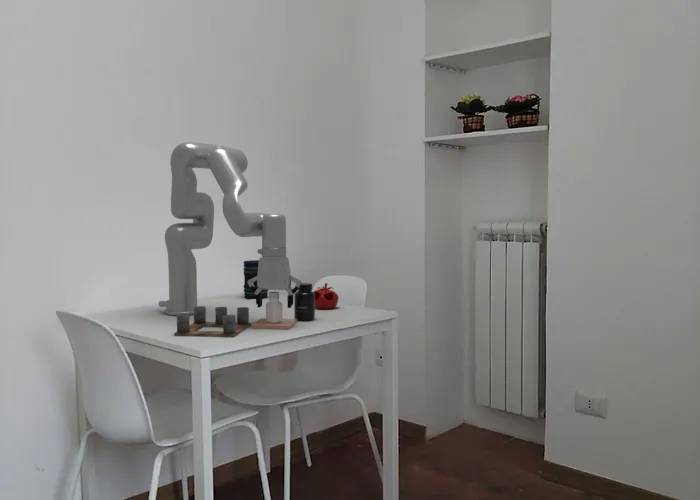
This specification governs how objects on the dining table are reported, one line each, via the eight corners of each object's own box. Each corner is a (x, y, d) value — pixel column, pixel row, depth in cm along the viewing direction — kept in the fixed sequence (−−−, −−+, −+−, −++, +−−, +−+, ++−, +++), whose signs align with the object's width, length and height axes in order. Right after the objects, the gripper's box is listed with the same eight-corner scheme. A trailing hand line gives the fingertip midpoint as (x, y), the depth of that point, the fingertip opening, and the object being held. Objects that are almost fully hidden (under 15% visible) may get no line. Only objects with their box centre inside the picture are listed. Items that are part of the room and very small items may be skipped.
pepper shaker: (274, 320, 206) (274, 291, 206) (283, 321, 204) (283, 292, 203) (265, 322, 203) (265, 292, 202) (274, 323, 201) (273, 293, 200)
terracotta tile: (251, 328, 198) (251, 325, 198) (261, 321, 210) (261, 318, 210) (289, 329, 197) (289, 326, 197) (297, 322, 209) (297, 319, 209)
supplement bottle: (299, 322, 209) (299, 285, 208) (291, 318, 215) (290, 283, 214) (318, 320, 212) (318, 284, 211) (310, 317, 218) (309, 282, 217)
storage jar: (240, 299, 259) (239, 262, 257) (248, 295, 268) (247, 260, 267) (264, 299, 257) (263, 262, 256) (271, 296, 267) (270, 260, 265)
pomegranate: (316, 306, 243) (316, 281, 243) (342, 306, 240) (341, 282, 240) (307, 309, 234) (307, 284, 233) (333, 310, 231) (333, 284, 230)
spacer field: (174, 335, 188) (173, 316, 187) (196, 324, 206) (195, 306, 205) (234, 337, 186) (233, 317, 185) (251, 325, 203) (250, 307, 203)
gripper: (244, 253, 199) (244, 308, 200) (298, 254, 197) (299, 309, 198) (250, 252, 207) (251, 304, 208) (303, 252, 205) (303, 305, 206)
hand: (274, 307), depth 203 cm, fingers open, 9 cm apart
